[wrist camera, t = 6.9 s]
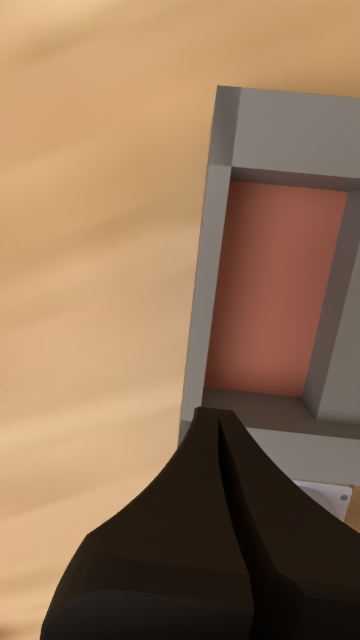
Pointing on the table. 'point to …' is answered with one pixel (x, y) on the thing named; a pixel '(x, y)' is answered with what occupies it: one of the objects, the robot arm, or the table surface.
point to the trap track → (281, 279)
